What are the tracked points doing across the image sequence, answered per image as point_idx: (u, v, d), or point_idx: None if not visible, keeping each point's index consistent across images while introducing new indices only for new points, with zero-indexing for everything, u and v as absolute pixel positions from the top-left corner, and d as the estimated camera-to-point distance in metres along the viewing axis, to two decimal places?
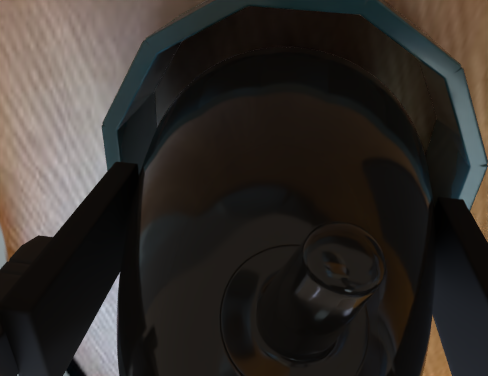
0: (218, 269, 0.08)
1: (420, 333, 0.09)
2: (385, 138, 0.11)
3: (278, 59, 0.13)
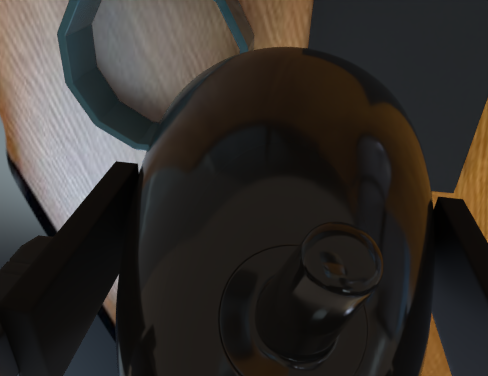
0: (217, 269, 0.08)
1: (419, 333, 0.09)
2: (383, 138, 0.11)
3: (278, 59, 0.13)
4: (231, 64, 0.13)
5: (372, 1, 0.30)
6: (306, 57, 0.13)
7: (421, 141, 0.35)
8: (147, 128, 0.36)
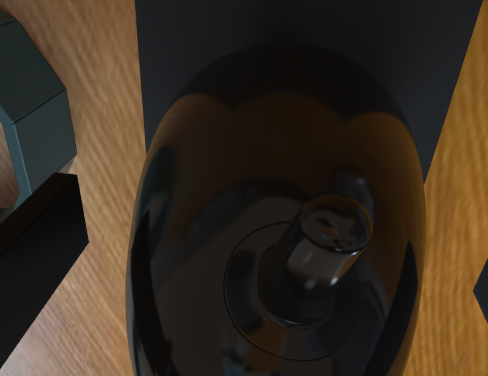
0: (221, 243, 0.08)
1: (408, 305, 0.09)
2: (377, 127, 0.12)
3: (276, 53, 0.14)
4: (232, 58, 0.14)
5: (227, 45, 0.19)
6: (303, 52, 0.14)
7: None
8: None
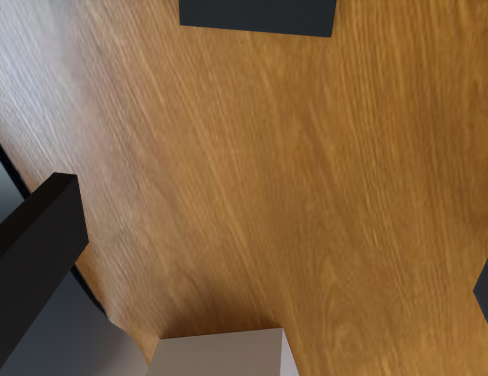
0: None
1: None
2: None
3: None
4: None
5: None
6: None
7: None
8: None
